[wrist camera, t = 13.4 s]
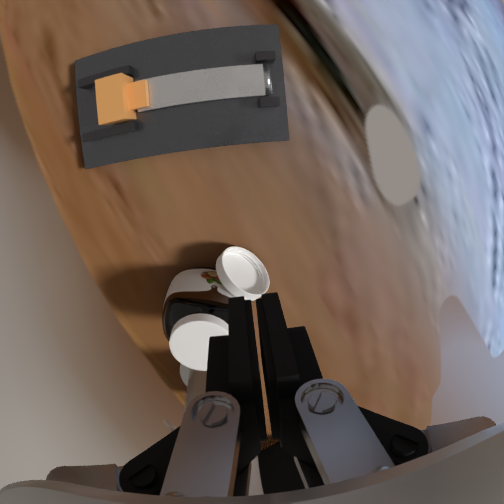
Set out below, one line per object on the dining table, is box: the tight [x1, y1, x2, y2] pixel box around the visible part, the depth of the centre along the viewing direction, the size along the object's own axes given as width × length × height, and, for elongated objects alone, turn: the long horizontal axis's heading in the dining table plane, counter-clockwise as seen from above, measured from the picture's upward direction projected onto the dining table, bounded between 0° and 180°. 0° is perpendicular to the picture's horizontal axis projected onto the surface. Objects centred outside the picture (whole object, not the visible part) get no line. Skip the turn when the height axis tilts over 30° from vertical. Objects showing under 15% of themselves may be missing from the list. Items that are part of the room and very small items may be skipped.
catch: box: [95, 73, 150, 125], centre depth 27 cm, size 5×5×4 cm
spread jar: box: [162, 246, 270, 371], centre depth 35 cm, size 12×11×12 cm
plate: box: [75, 25, 289, 169], centre depth 29 cm, size 14×24×4 cm, turn 95°
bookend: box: [258, 443, 306, 494], centre depth 48 cm, size 23×11×24 cm, turn 135°
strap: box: [135, 64, 273, 112], centre depth 29 cm, size 4×14×1 cm, turn 95°
